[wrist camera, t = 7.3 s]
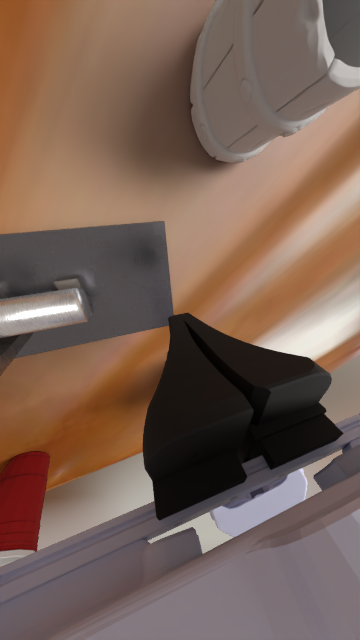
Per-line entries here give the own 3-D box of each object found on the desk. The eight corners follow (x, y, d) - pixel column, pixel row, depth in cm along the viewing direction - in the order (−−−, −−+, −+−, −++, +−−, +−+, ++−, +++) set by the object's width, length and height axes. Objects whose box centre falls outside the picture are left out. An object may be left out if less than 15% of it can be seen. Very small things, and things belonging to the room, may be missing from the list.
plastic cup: (0, 441, 25) (-79, 583, 15) (74, 444, 31) (51, 549, 21) (-21, 475, 28) (-100, 614, 18) (50, 472, 34) (20, 576, 24)
